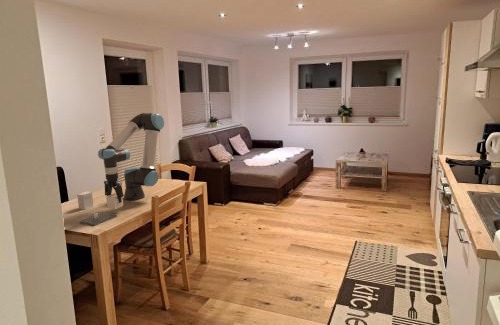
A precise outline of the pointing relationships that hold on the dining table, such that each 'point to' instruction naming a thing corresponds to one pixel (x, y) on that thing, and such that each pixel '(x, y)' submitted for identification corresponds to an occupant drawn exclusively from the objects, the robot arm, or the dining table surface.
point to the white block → (113, 201)
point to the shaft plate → (102, 219)
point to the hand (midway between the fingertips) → (115, 206)
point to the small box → (85, 200)
